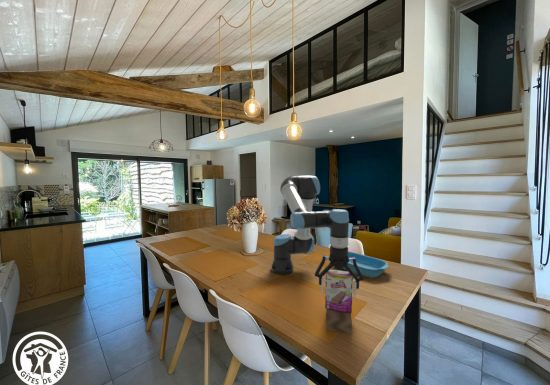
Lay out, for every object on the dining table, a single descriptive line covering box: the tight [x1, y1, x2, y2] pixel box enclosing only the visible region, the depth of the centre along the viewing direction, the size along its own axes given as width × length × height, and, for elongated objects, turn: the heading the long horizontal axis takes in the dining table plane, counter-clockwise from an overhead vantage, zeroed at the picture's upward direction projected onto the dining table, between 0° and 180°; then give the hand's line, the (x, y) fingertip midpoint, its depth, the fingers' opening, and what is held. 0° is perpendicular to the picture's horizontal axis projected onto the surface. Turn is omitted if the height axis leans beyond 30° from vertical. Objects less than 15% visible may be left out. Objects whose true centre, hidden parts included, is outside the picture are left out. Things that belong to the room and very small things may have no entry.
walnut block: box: [325, 309, 353, 335], centre depth 101 cm, size 10×16×5 cm, turn 166°
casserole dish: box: [341, 251, 390, 279], centre depth 156 cm, size 37×22×7 cm, turn 43°
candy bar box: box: [324, 268, 354, 314], centre depth 101 cm, size 11×5×16 cm, turn 71°
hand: (338, 293), depth 101 cm, fingers open, 13 cm apart
